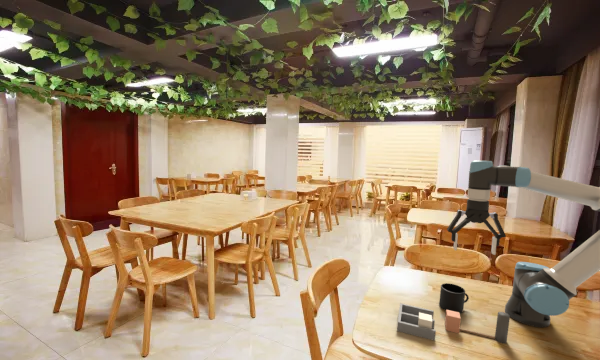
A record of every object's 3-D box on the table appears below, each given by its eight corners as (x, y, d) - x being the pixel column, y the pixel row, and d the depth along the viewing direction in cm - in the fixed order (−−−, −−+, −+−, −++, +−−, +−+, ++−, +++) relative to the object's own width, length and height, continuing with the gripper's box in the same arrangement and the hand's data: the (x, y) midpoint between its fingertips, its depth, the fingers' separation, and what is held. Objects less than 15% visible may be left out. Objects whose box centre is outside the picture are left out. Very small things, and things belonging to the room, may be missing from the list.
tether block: (504, 337, 108) (508, 312, 107) (508, 345, 104) (511, 319, 103) (444, 323, 115) (447, 299, 114) (445, 330, 111) (448, 305, 110)
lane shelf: (432, 318, 119) (433, 310, 118) (434, 340, 105) (435, 331, 104) (399, 310, 123) (400, 303, 123) (396, 330, 110) (397, 321, 109)
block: (430, 330, 111) (431, 315, 110) (430, 336, 107) (432, 321, 106) (417, 326, 113) (419, 312, 112) (417, 333, 108) (419, 318, 108)
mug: (473, 314, 123) (476, 294, 122) (445, 313, 123) (447, 293, 122) (461, 302, 133) (463, 283, 132) (435, 301, 132) (437, 282, 131)
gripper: (511, 200, 115) (506, 252, 117) (442, 196, 123) (438, 244, 125) (519, 203, 108) (513, 258, 110) (445, 198, 116) (441, 250, 118)
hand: (473, 251), depth 118 cm, fingers open, 13 cm apart
